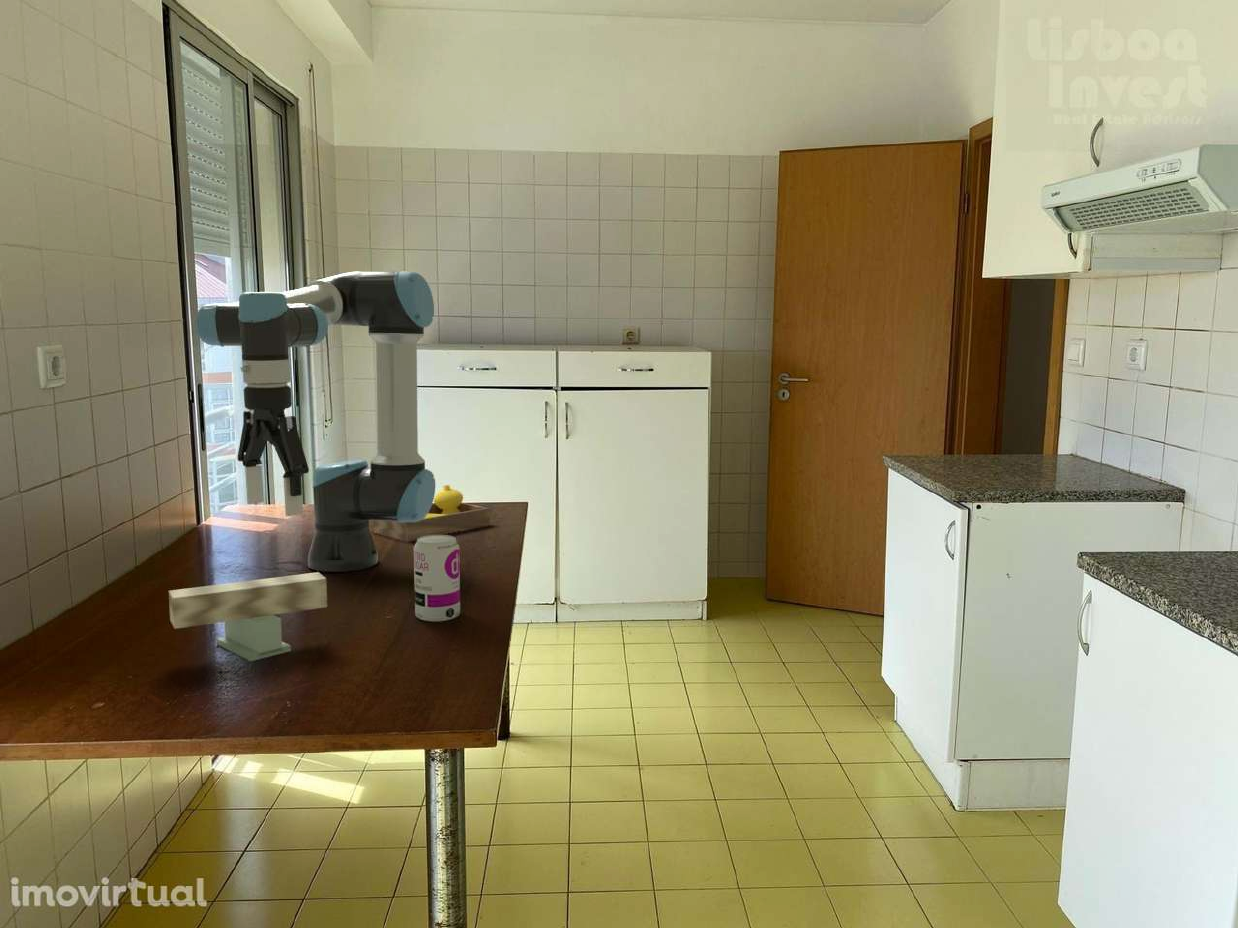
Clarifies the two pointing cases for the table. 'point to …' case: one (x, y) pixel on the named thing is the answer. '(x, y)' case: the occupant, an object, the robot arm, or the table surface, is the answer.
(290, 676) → the table surface
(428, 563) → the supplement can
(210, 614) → the beam
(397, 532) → the tray
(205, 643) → the table surface
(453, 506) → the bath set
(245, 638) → the stepped block
